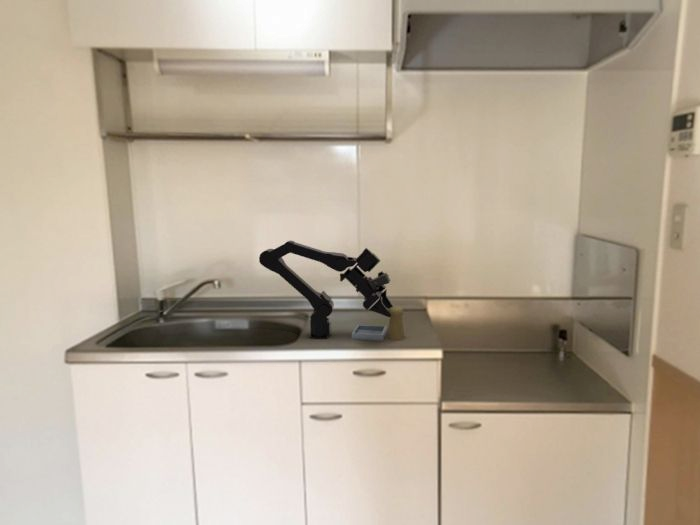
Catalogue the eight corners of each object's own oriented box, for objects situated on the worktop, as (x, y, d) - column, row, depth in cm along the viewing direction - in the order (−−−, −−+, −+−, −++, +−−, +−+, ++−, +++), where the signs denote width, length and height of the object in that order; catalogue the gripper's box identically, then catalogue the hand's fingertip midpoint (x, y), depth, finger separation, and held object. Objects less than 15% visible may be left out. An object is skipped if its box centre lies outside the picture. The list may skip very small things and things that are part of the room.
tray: (352, 339, 162) (351, 333, 162) (357, 330, 173) (357, 324, 173) (382, 340, 160) (382, 334, 160) (386, 331, 171) (386, 326, 170)
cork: (404, 335, 166) (404, 305, 165) (404, 340, 160) (404, 309, 159) (387, 334, 167) (387, 305, 165) (387, 340, 161) (387, 309, 159)
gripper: (371, 269, 152) (406, 303, 152) (379, 261, 171) (410, 291, 170) (349, 293, 155) (382, 326, 154) (359, 282, 173) (389, 312, 173)
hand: (392, 312), depth 163 cm, fingers open, 9 cm apart
